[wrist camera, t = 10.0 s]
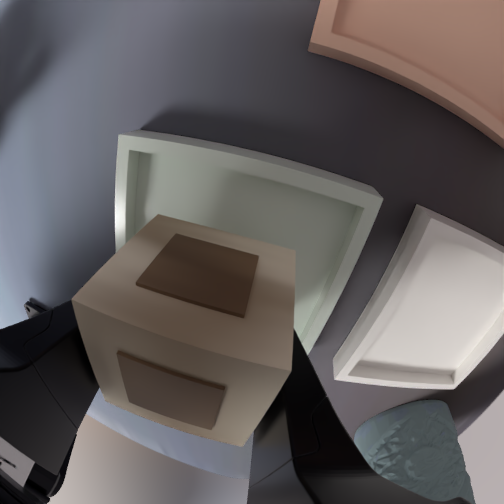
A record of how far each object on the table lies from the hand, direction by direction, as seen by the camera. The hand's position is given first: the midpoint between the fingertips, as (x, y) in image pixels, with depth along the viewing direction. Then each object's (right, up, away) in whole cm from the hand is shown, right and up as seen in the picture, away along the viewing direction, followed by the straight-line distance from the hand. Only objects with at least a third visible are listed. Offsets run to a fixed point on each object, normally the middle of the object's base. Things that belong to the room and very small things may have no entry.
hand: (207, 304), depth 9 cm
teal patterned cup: (+14, -13, +9) cm, 21 cm away
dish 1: (0, +1, +3) cm, 3 cm away
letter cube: (0, 0, +1) cm, 1 cm away
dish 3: (+11, -1, +2) cm, 11 cm away
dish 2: (+9, +11, -4) cm, 14 cm away
